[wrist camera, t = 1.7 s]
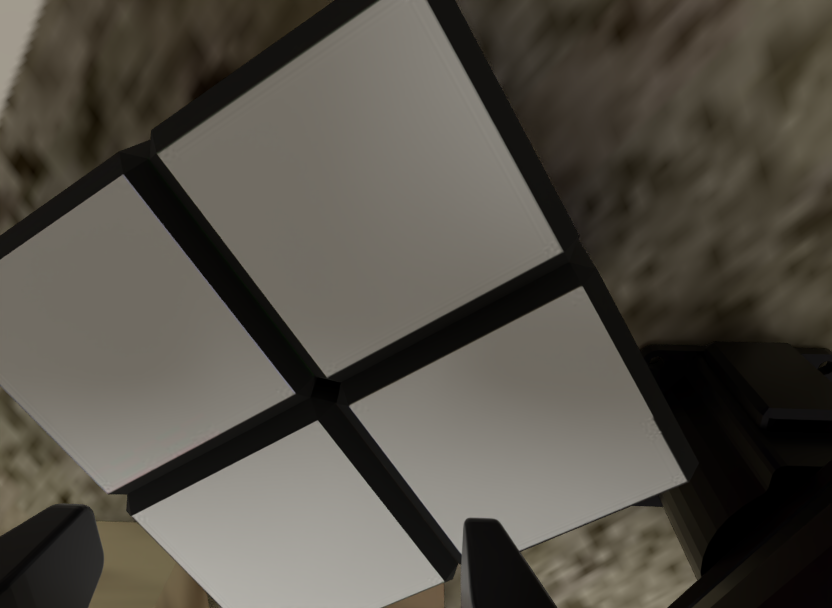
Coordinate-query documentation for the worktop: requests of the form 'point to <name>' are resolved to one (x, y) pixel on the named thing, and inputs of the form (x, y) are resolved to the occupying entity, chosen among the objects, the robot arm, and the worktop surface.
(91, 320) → the puzzle cube
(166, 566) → the maple block
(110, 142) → the worktop surface
